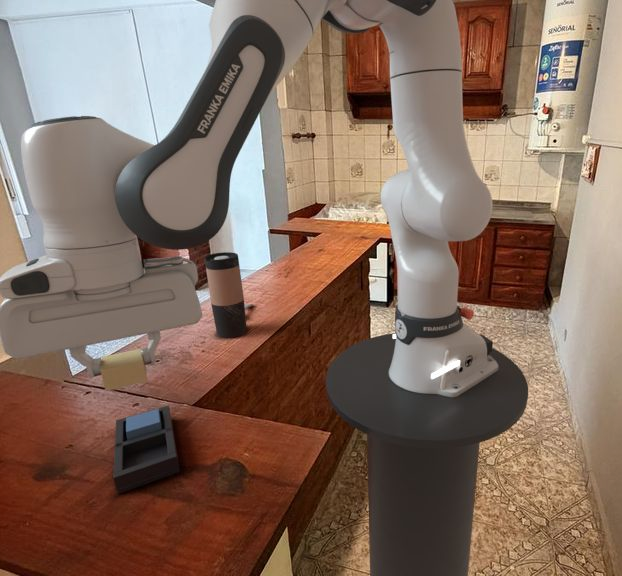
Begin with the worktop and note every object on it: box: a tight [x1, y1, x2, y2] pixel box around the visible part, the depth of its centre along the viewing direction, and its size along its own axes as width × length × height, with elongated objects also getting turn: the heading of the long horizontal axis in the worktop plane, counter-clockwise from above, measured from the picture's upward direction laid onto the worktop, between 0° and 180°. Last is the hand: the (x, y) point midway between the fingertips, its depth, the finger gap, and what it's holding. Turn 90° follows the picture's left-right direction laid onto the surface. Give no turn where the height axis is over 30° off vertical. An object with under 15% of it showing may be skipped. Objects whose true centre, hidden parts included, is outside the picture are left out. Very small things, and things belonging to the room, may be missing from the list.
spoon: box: [244, 303, 254, 311], centre depth 113 cm, size 3×12×2 cm, turn 2°
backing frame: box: [113, 405, 181, 495], centre depth 60 cm, size 8×14×3 cm, turn 31°
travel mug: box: [204, 251, 248, 339], centre depth 98 cm, size 8×8×20 cm
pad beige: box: [100, 348, 148, 392], centre depth 51 cm, size 4×4×3 cm
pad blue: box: [125, 408, 163, 440], centre depth 62 cm, size 4×4×3 cm
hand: (123, 368), depth 51 cm, fingers closed on pad beige, 4 cm apart
